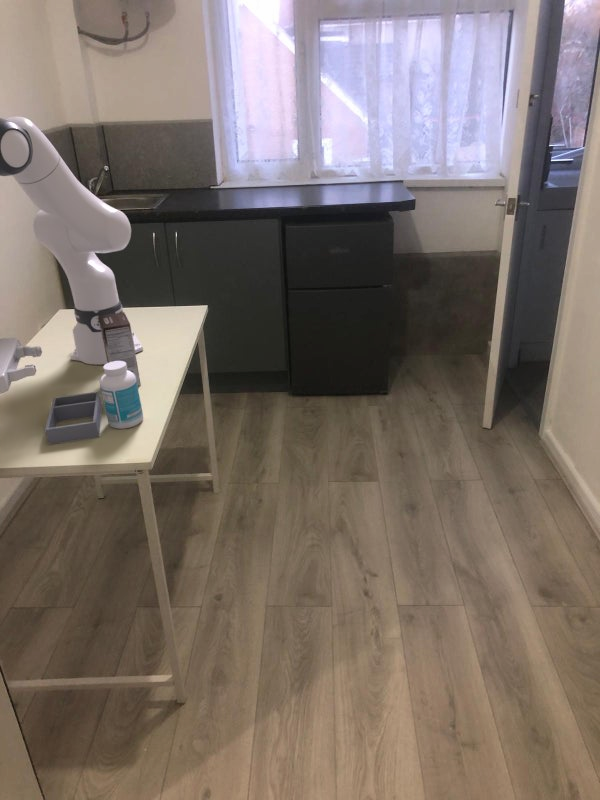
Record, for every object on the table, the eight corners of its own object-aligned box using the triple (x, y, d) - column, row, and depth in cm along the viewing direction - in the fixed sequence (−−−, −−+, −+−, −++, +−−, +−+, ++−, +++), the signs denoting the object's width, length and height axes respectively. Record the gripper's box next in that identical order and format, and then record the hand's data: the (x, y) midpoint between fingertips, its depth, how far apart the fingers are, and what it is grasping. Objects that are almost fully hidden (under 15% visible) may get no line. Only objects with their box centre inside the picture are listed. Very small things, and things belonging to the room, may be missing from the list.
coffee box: (109, 376, 161) (97, 315, 154) (135, 371, 163) (124, 311, 156) (114, 391, 153) (101, 327, 146) (141, 385, 155) (130, 322, 148)
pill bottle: (146, 412, 143) (136, 356, 137) (140, 429, 137) (129, 371, 130) (112, 414, 143) (101, 358, 137) (105, 431, 136) (92, 373, 130)
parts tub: (56, 411, 146) (53, 397, 144) (102, 405, 147) (99, 391, 146) (49, 444, 133) (45, 429, 131) (99, 437, 134) (95, 422, 133)
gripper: (-53, 378, 117) (27, 367, 120) (-29, 336, 135) (40, 327, 137) (-42, 408, 120) (35, 397, 123) (-20, 363, 138) (47, 354, 140)
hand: (38, 360), depth 130 cm, fingers open, 8 cm apart
